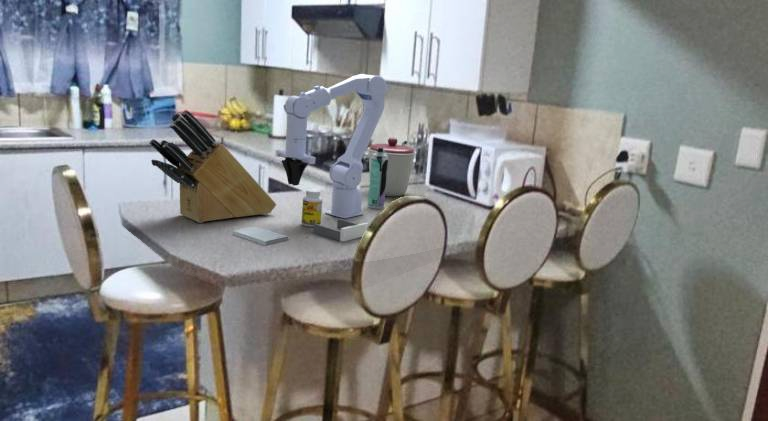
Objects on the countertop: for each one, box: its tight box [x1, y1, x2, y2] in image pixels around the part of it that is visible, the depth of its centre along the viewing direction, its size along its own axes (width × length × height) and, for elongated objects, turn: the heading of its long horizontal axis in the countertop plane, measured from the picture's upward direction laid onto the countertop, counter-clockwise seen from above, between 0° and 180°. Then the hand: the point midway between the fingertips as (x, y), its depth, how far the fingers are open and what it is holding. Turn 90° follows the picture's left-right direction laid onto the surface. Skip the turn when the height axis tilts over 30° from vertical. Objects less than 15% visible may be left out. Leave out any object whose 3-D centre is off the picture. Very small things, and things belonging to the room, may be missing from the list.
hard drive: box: [232, 225, 289, 246], centre depth 165 cm, size 2×8×12 cm
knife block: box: [149, 109, 277, 224], centre depth 178 cm, size 11×35×31 cm, turn 134°
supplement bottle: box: [301, 188, 323, 228], centre depth 180 cm, size 6×6×10 cm
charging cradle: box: [312, 217, 370, 243], centre depth 174 cm, size 11×11×4 cm
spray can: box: [367, 148, 388, 210], centre depth 209 cm, size 6×6×20 cm
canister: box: [366, 136, 417, 197], centre depth 231 cm, size 18×18×21 cm
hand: (293, 184), depth 184 cm, fingers closed
